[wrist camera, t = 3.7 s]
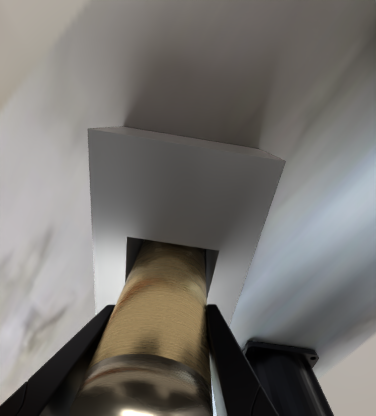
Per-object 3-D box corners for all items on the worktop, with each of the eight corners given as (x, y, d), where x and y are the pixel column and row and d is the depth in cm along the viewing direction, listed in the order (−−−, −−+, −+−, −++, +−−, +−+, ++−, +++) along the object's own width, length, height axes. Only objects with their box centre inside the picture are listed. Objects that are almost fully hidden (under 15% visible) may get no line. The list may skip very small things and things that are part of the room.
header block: (258, 148, 12) (285, 161, 8) (211, 315, 17) (215, 367, 14) (122, 126, 12) (87, 128, 8) (118, 301, 17) (97, 351, 14)
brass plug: (209, 227, 13) (228, 396, 5) (198, 276, 14) (199, 464, 6) (145, 217, 13) (63, 374, 5) (142, 268, 14) (74, 447, 6)
